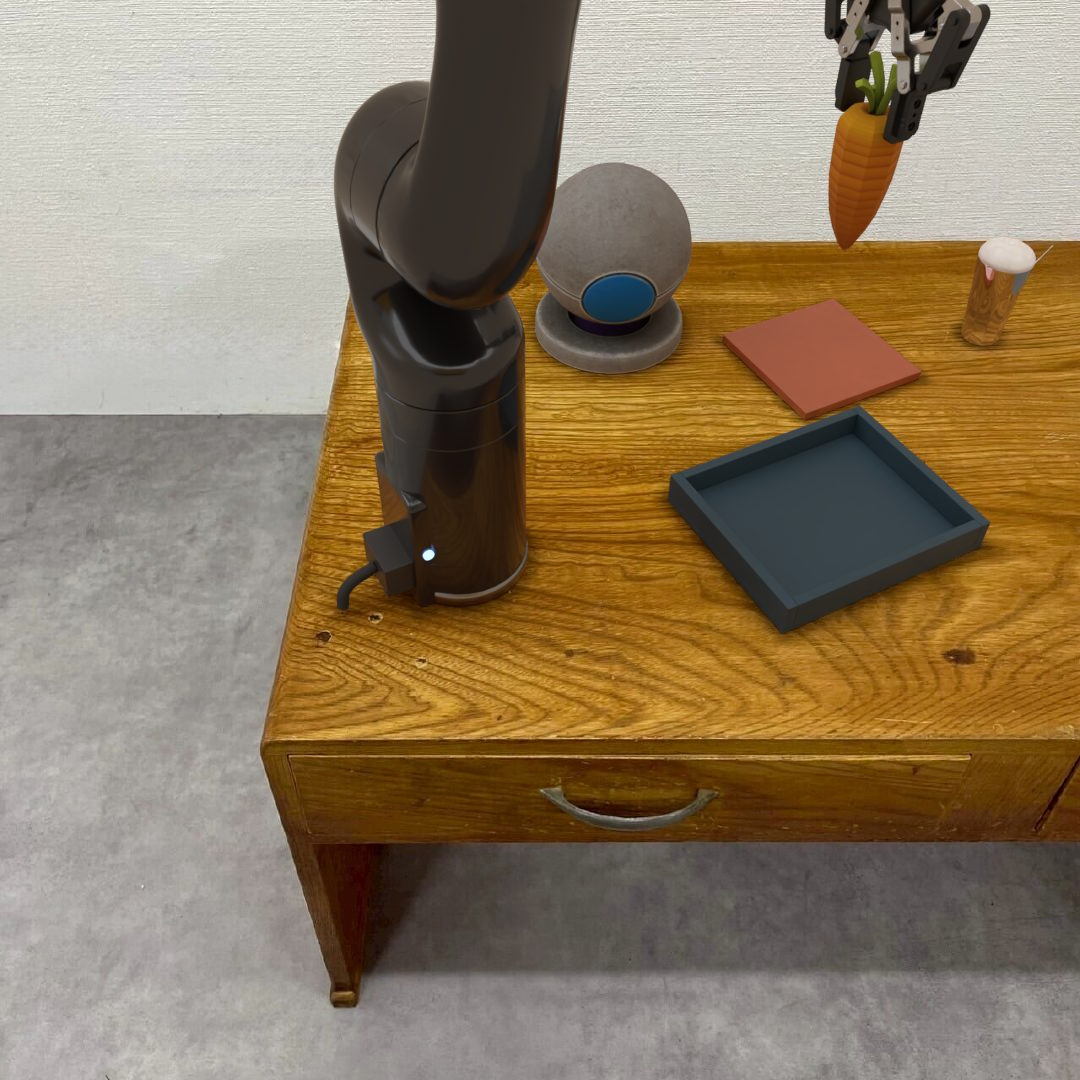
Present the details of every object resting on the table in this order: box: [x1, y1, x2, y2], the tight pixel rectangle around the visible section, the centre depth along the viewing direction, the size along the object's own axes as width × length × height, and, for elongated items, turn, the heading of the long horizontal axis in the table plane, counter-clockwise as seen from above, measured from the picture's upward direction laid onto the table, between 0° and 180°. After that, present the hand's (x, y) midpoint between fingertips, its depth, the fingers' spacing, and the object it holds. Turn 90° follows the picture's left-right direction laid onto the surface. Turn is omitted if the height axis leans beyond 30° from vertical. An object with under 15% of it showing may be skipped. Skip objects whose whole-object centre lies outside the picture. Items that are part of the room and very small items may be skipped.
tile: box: [721, 298, 922, 421], centre depth 96 cm, size 12×12×1 cm
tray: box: [667, 405, 991, 635], centre depth 82 cm, size 18×15×3 cm
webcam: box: [534, 162, 693, 375], centre depth 94 cm, size 13×13×15 cm
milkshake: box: [960, 236, 1054, 347], centre depth 95 cm, size 4×5×10 cm
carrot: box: [827, 50, 905, 251], centre depth 83 cm, size 5×5×15 cm
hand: (872, 123), depth 81 cm, fingers closed on carrot, 5 cm apart
